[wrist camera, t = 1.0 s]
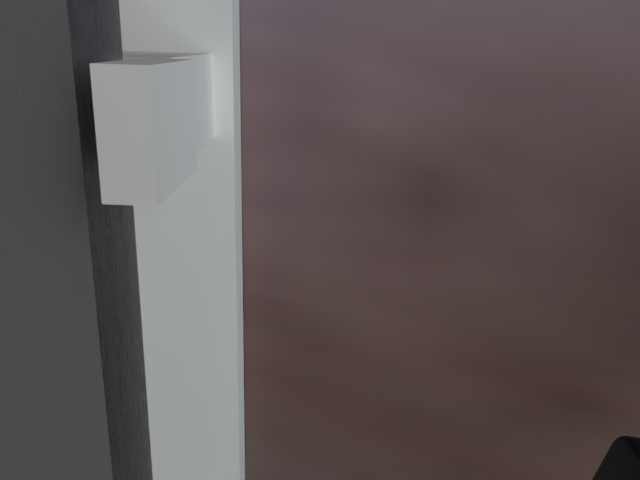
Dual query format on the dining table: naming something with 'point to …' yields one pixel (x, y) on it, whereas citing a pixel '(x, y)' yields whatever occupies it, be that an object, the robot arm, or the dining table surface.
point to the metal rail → (64, 259)
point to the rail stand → (182, 221)
